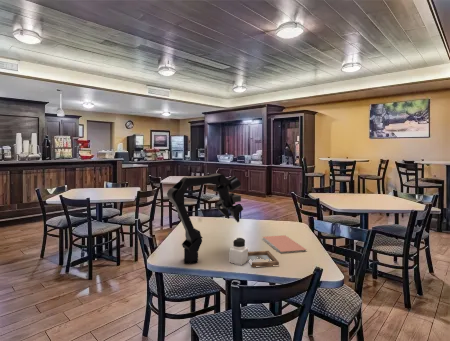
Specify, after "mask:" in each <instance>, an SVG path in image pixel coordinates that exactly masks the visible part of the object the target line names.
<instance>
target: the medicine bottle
mask: <svg viewBox="0 0 450 341" xmlns="http://www.w3.org/2000/svg"><path fill="white" fill-rule="evenodd" d="M245 243H246V240H245V239H244V238H243V237H235V238H233V240H232V247H230V248H229V254H228V258H229V259H228V260H229V261H228V263H230V262H231V263H230V264H233V263H235V264H234V265H237V264H240V265H239V266H242V264H243V265H244V264H246V263H247V262H248V252H249V247H247V246H246V244H245ZM246 261H247V262H246Z"/></svg>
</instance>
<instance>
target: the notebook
mask: <svg viewBox="0 0 450 341" xmlns="http://www.w3.org/2000/svg"><path fill="white" fill-rule="evenodd" d="M261 240H262V241H263V242H265V243H266V244H267V245H268V246H269V247H271V248H272V249H273V250H276V252H277V253H279V254H289V253H301V252H302V253H303V252H307V248H305V247H304V246H302V245H300V244H299V243H297V241H295V240H293V239H292V238H290V237H289V236H287V235H286V234H283V235H270V236H269V235H268V236H262V239H261Z"/></svg>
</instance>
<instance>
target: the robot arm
mask: <svg viewBox="0 0 450 341" xmlns="http://www.w3.org/2000/svg"><path fill="white" fill-rule="evenodd" d="M241 184H242V183H241V181H240V179H238V178H237V176H235V175H233V176H231V177H230V178H229V179H228V178H227V177H226V176H225V175H224V174H223V173H212V174H211V173H210V174H209V175H206V176H205V175H202V176H188V177H187V176H184V177H182V178H181V179H180V180H179V181H178V182H176V183H175V184H174V185H173V186H172V187H170V188H169V189H168V191H167V193H166V197H167V198H168V200H169V201H170V202H171V203H172V205H173V206H174V207H175V210H176V212H177V214H178V216H179V218H180V221H181V224H182V226H183V229H184V231H185V232H184V233H185V234H184V235H185V240H184V241H183V242H182V243H181V246H182V248H183V249H184V250H183V251H184V252H183V263H184V264H185V265H187V264H189V263H190V264H197V263H198V261H199V251H200V247H201V245H202V243H203V237H202V234H201V231H200V230H199V229H196V228H195V227H194V225H193V222H192V220H191V217H190V215H189V213H188V210H187V208H186V206H185V197H184V195H185V194H186V193H187V192H188V189H189V187H191V186H198V185H199V186H200V185H215V186H214V188H213V190H212V191H213V192H216V193H218V196H219V198H218V201H217V202H216V203H215V206H214V207H215V208H216V209H217V211H219V212H220V213H221V214H222V215H224V216H225V218H227V219H228V220H229V219H230V215H231V216H232V218H233V219H234V220H235V221H236V222H237V223H240V214H241V212H243V210H244V207H243V205H241V204H238V202H242V195H239V194H235V192H233V191H235V190H237V189H238V188H240V187H241V186H242V185H241ZM216 185H217V186H216ZM229 212H230V213H229ZM190 264H189V265H190Z"/></svg>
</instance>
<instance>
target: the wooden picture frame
mask: <svg viewBox="0 0 450 341" xmlns="http://www.w3.org/2000/svg"><path fill="white" fill-rule="evenodd" d="M257 257H258V258H257ZM260 258H261V259H264V260H266V259H269V261H268V262H252V265H250V266H251V268H252V267H255V268H257V267H256V266H272V267H274V266H273V265H279V266H280V262H279V260H277V258H276V257H275V256H274V255H273V254H272V253H271V252H270V250H259V251H257V250H256V251H255V250H254V251H253V250H252V251H248V261H249V260H250V259H251V260H252V261H253V260H254V259H255V260H256V259H260ZM270 259H271V260H272V261H270ZM248 261H247V262H248Z"/></svg>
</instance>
